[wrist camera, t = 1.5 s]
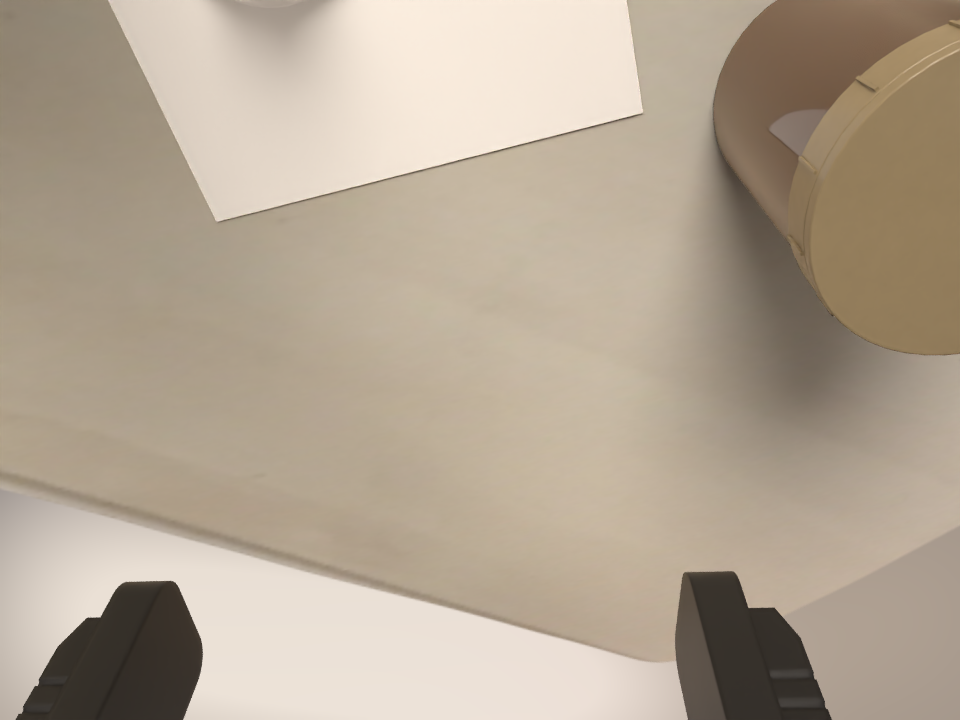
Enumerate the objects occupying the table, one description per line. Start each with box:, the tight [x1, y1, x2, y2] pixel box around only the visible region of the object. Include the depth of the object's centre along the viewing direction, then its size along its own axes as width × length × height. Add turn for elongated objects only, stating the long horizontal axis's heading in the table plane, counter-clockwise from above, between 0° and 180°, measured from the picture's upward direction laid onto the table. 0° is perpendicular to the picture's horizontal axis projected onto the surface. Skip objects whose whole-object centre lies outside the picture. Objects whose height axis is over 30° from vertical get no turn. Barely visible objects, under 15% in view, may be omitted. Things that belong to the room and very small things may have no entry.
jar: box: [713, 0, 960, 246], centre depth 26 cm, size 9×9×12 cm
